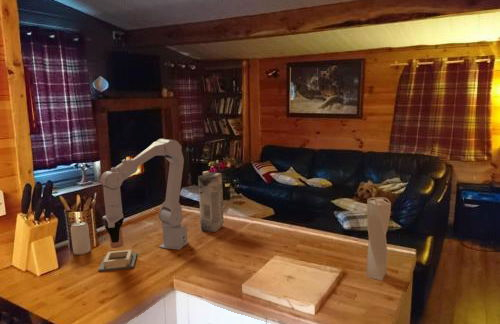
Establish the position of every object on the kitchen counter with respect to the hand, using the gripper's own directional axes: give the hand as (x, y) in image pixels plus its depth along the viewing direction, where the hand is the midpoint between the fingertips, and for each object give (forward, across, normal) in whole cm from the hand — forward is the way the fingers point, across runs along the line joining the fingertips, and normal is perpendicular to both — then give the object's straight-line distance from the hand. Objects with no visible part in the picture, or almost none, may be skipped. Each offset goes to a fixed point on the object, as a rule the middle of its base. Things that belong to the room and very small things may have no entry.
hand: (116, 239), depth 136 cm
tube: (+2, 0, 0) cm, 2 cm away
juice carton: (+9, -27, +38) cm, 47 cm away
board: (+9, 0, 0) cm, 9 cm away
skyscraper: (+9, +32, +87) cm, 93 cm away
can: (+9, -14, -16) cm, 23 cm away
